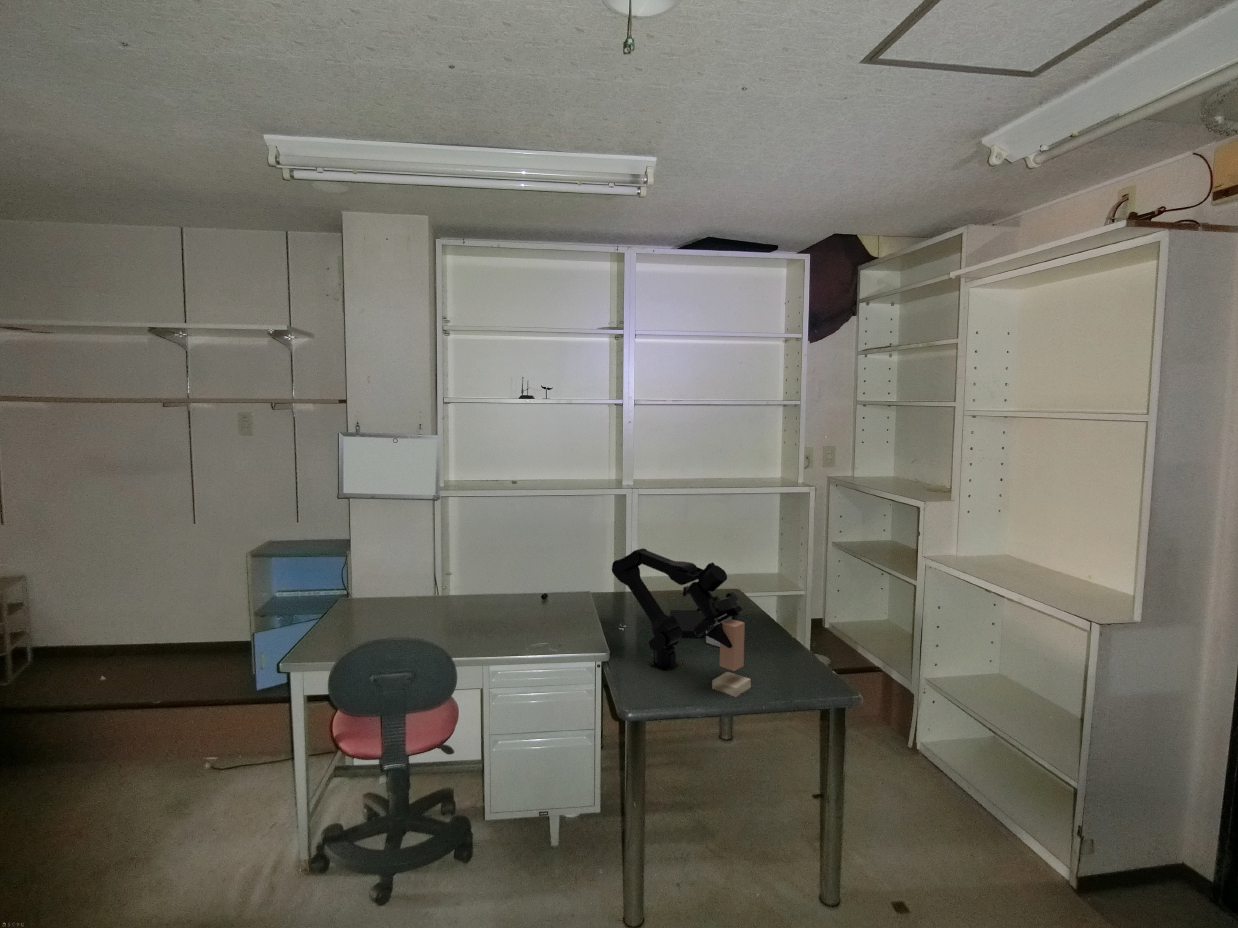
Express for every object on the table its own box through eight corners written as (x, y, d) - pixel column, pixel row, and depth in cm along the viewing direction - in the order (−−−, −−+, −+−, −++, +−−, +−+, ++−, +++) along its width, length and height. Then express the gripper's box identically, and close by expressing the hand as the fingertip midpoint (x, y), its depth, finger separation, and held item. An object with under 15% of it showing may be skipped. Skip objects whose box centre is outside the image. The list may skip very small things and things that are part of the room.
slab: (712, 690, 184) (712, 680, 184) (727, 680, 190) (727, 671, 190) (736, 698, 179) (736, 688, 179) (750, 688, 185) (750, 678, 185)
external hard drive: (670, 638, 225) (670, 630, 225) (670, 617, 248) (670, 609, 248) (710, 639, 224) (710, 631, 224) (706, 617, 247) (706, 610, 247)
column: (719, 666, 184) (720, 622, 183) (728, 661, 188) (729, 618, 187) (734, 670, 181) (735, 626, 180) (743, 665, 184) (744, 622, 183)
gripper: (702, 592, 178) (736, 639, 171) (737, 578, 192) (770, 621, 185) (680, 613, 184) (711, 659, 177) (715, 598, 198) (746, 641, 191)
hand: (736, 644), depth 183 cm, fingers closed on column, 5 cm apart
